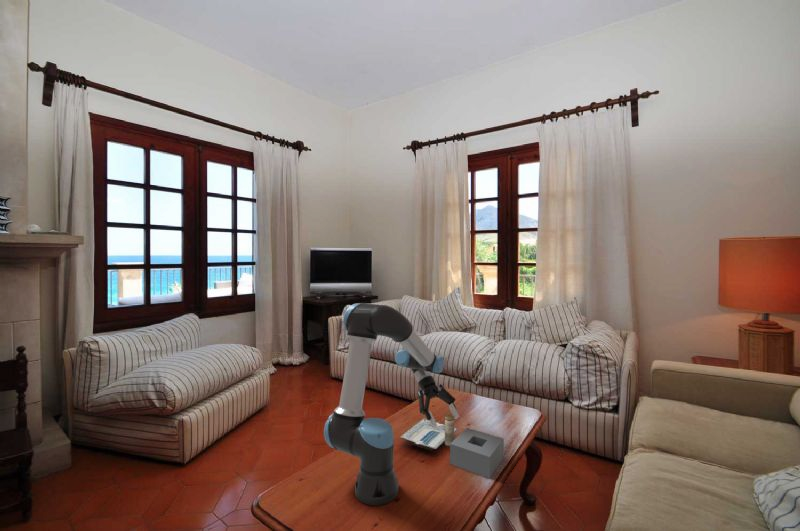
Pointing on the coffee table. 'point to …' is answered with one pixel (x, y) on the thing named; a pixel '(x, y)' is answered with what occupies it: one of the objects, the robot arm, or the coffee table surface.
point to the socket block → (477, 452)
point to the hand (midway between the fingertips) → (446, 422)
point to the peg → (449, 429)
